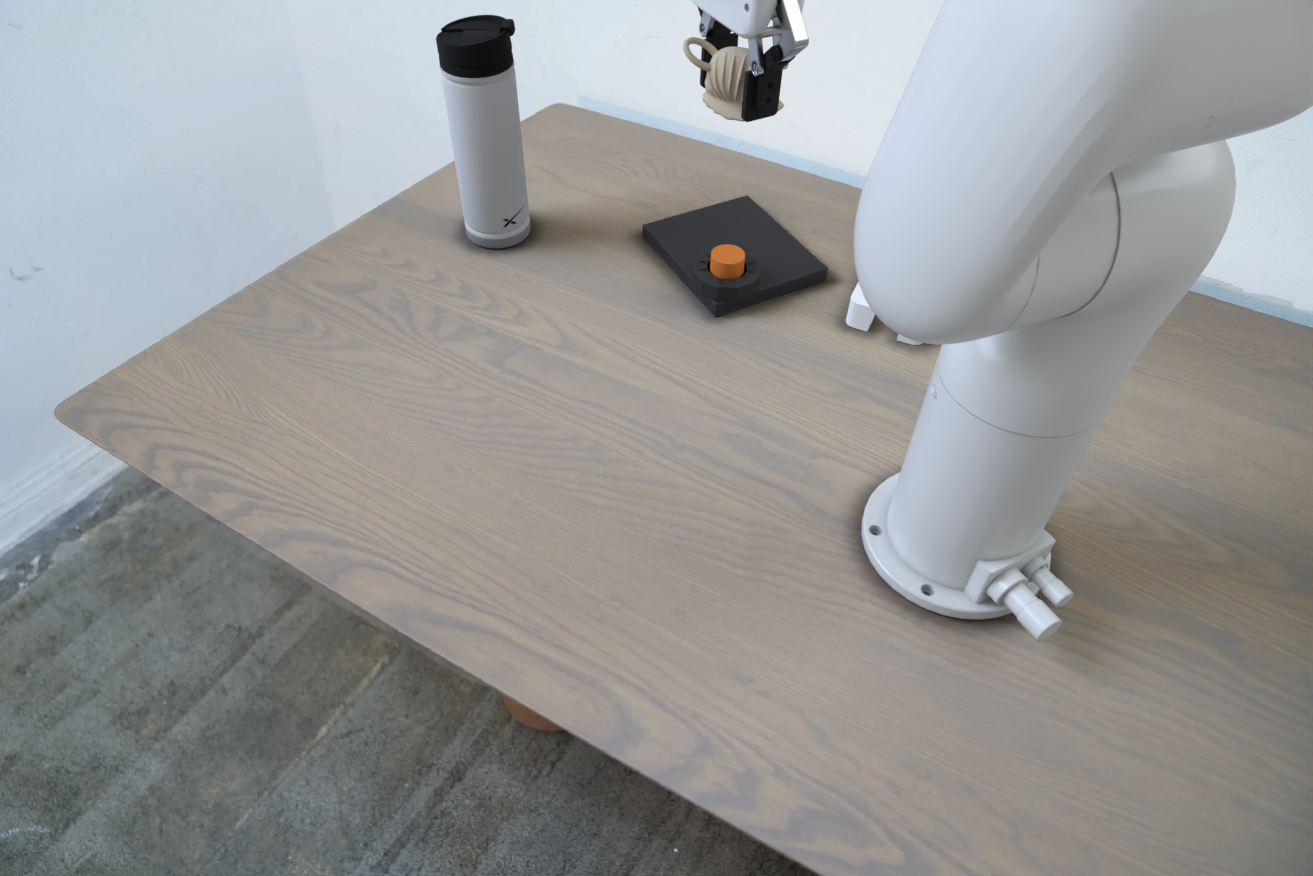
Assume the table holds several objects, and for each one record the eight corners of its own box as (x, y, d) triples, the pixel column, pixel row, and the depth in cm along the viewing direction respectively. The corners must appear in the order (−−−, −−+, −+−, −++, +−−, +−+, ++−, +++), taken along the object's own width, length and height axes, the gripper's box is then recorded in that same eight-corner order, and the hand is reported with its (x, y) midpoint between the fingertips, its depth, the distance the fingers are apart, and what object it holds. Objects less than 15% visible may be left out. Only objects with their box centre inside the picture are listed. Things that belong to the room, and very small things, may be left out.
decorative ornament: (771, 128, 73) (779, 63, 69) (676, 108, 75) (678, 44, 71) (786, 107, 76) (794, 43, 72) (693, 88, 78) (696, 25, 74)
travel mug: (530, 250, 86) (508, 38, 71) (461, 249, 86) (425, 36, 71) (537, 214, 90) (518, 8, 76) (472, 213, 90) (440, 6, 76)
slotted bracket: (921, 347, 77) (943, 272, 71) (843, 324, 79) (859, 249, 73) (954, 267, 85) (976, 194, 79) (882, 248, 87) (899, 175, 81)
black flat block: (829, 283, 83) (834, 256, 81) (713, 321, 79) (715, 294, 77) (746, 206, 92) (749, 180, 90) (638, 237, 88) (638, 211, 85)
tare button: (750, 274, 79) (751, 258, 78) (720, 284, 78) (722, 267, 77) (732, 257, 81) (733, 240, 80) (703, 265, 80) (704, 249, 79)
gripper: (652, -176, 66) (649, 68, 79) (783, -111, 55) (755, 157, 68) (739, -186, 68) (722, 52, 81) (880, -126, 58) (835, 136, 71)
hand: (737, 98), depth 75 cm, fingers closed on decorative ornament, 5 cm apart
